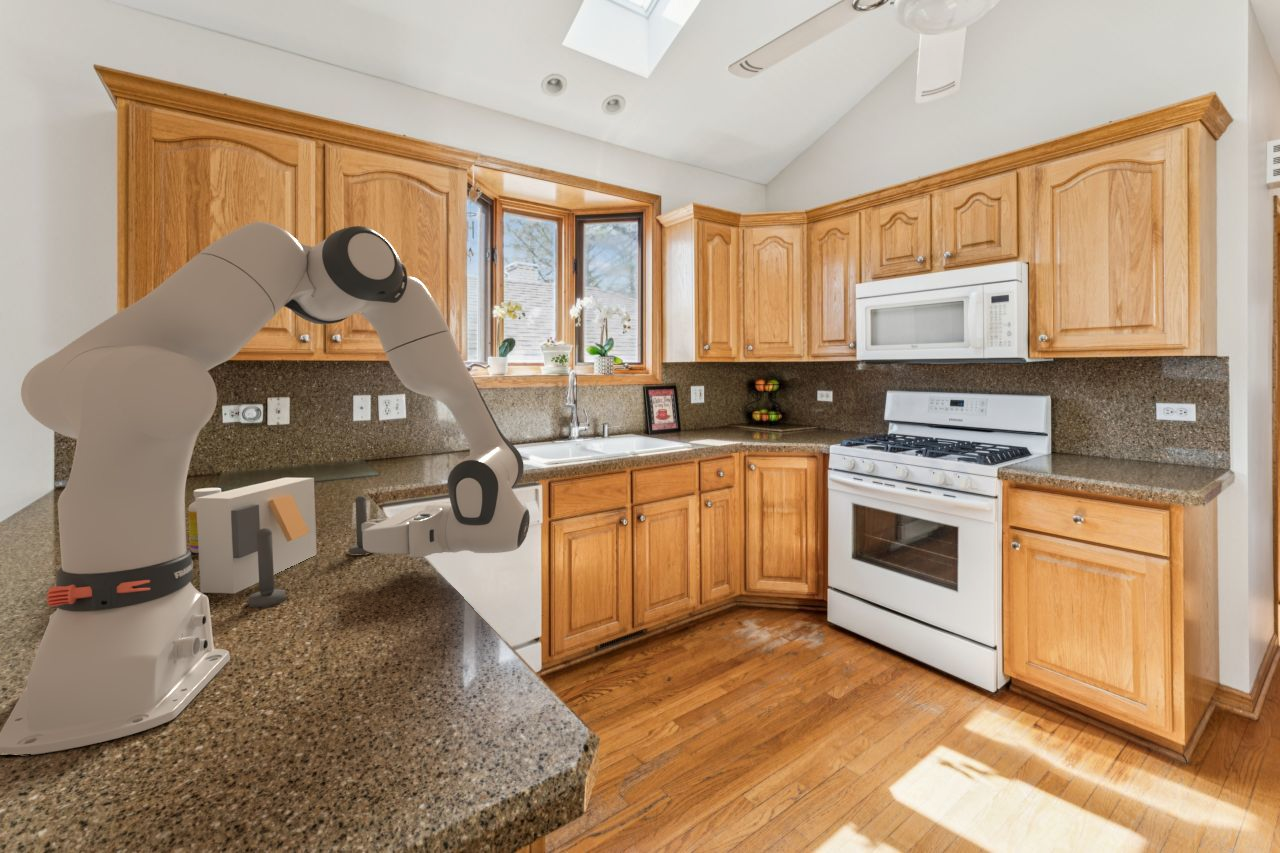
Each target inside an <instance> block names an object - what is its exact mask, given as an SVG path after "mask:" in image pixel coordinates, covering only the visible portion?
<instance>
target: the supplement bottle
mask: <svg viewBox="0 0 1280 853" xmlns="http://www.w3.org/2000/svg"><path fill="white" fill-rule="evenodd" d="M220 492H222V488H220V487H204V488H197V489H195V490H193V496H194V497H193V498H194V501H193V502H191V503H190V504H189V505H188V508H187V509H188V510H187V511H188V532H189V534H188V535H189V551H190V552H191V553H195V554H199V550H198V530H197V510H196V498H198V497H202V496H207V495H211V494H215V493H220Z"/></svg>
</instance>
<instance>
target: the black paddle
mask: <svg viewBox="0 0 1280 853" xmlns="http://www.w3.org/2000/svg"><path fill="white" fill-rule="evenodd" d="M231 515H232V537H233V558H241V557H244V556H247V555H249V554H252V553H254V552H257V551H258V544H257V533H258V531H259V530H260V519H259V505H250V506H246V507H243V508H239V509H235V510H232V511H231Z"/></svg>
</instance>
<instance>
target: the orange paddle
mask: <svg viewBox="0 0 1280 853" xmlns="http://www.w3.org/2000/svg"><path fill="white" fill-rule="evenodd" d="M268 503H269V505H270V507H271V509H272V511H273V513H274V515H275V517H276V519H277V522H278V524H279V526H280V528H281V530H282V532H283V534H284V536H285V538H286V540H287V542H289V541H291V540H294V539H296V538H299V537H301V536H304V535H306V534H308V533H310V532H309V530H308V528H307V526H306V524H305V522H304V520H303V518H302V516H301V514H300V512H299V510H298V507H297V505H296V503H295V501H294V499H293V497H292V495H287V496H284V497H280V498H276V499H273V500H271V501H269V502H268Z"/></svg>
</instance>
